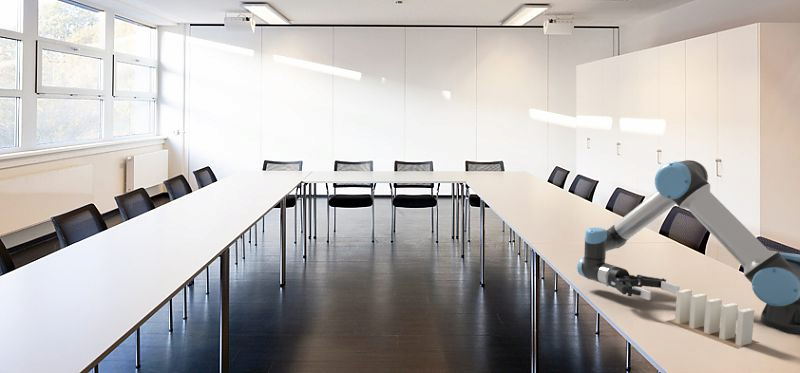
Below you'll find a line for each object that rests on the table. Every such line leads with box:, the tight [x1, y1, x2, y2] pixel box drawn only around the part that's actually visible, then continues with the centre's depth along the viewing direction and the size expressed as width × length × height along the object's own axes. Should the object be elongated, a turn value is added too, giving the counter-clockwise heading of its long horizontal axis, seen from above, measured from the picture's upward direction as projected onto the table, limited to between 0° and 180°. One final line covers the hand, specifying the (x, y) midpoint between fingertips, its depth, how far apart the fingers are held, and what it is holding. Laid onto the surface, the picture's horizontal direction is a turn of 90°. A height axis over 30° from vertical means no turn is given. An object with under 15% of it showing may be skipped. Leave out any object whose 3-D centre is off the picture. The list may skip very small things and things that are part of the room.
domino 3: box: [704, 297, 723, 334], centre depth 177 cm, size 2×5×10 cm, turn 117°
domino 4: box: [719, 302, 739, 340], centre depth 173 cm, size 2×5×10 cm, turn 117°
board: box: [665, 318, 760, 350], centre depth 178 cm, size 10×24×1 cm, turn 27°
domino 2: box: [689, 293, 708, 328], centre depth 181 cm, size 2×5×10 cm, turn 117°
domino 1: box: [674, 288, 693, 323], centre depth 186 cm, size 2×5×10 cm, turn 117°
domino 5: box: [735, 307, 755, 346], centre depth 168 cm, size 2×5×10 cm, turn 117°
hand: (664, 293), depth 192 cm, fingers open, 13 cm apart
